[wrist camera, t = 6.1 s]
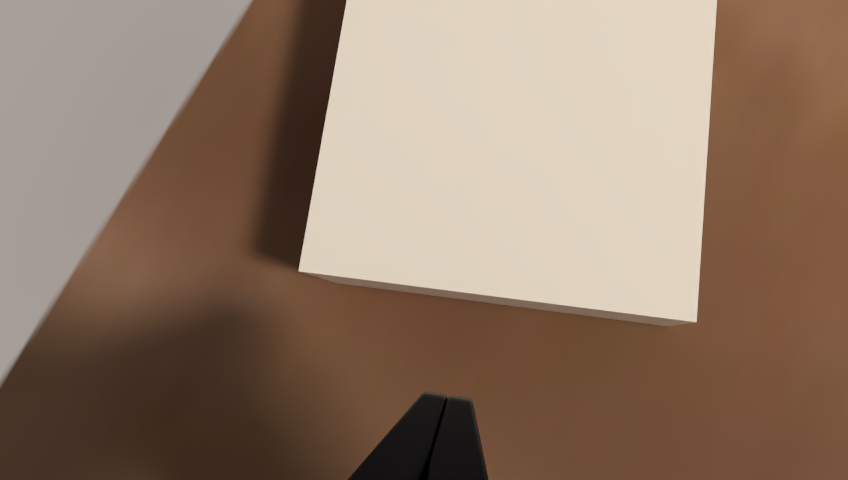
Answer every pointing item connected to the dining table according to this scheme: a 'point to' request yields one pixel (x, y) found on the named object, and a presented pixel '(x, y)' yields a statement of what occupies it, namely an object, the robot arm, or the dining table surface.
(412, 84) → the tile
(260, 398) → the dining table surface
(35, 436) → the dining table surface
